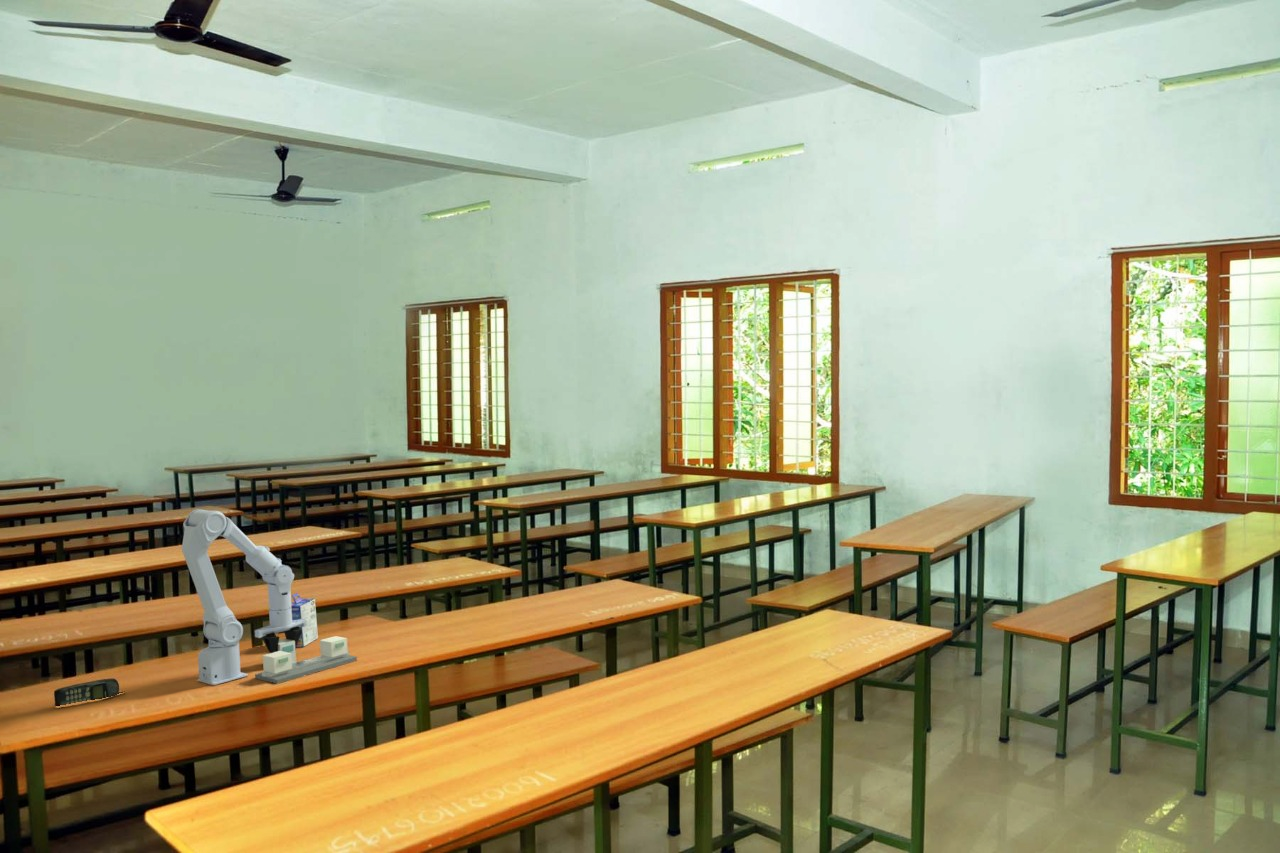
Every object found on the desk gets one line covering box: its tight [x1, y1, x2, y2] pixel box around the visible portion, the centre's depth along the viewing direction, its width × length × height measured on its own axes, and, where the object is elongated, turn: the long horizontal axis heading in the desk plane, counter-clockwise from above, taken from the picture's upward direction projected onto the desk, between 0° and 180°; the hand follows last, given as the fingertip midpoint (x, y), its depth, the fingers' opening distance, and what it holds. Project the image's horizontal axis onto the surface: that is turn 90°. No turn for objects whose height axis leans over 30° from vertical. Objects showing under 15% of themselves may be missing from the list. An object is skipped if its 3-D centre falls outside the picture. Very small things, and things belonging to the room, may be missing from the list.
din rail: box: [262, 650, 350, 678], centre depth 257 cm, size 24×4×1 cm, turn 143°
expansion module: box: [278, 638, 297, 664], centre depth 264 cm, size 4×5×6 cm
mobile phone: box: [53, 678, 126, 707], centre depth 236 cm, size 5×3×15 cm
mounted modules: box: [262, 635, 349, 673], centre depth 257 cm, size 22×5×4 cm, turn 143°
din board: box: [254, 654, 358, 684], centre depth 257 cm, size 24×10×1 cm, turn 143°
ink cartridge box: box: [291, 592, 319, 648], centre depth 286 cm, size 10×6×14 cm, turn 174°
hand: (283, 658), depth 264 cm, fingers closed on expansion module, 4 cm apart
